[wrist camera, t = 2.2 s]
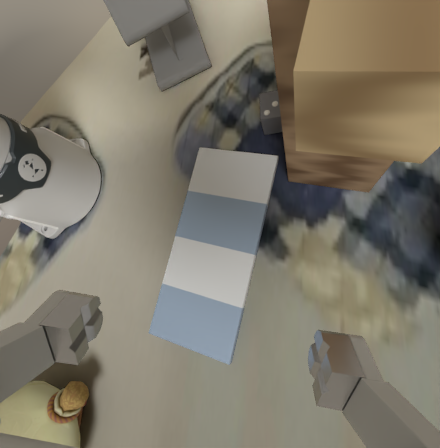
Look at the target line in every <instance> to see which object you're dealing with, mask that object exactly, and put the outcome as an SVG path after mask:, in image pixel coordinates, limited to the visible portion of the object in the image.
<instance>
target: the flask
mask: <svg viewBox="0 0 440 448" xmlns="http://www.w3.org/2000/svg"><path fill="white" fill-rule="evenodd" d="M88 397H89V391H88V387H87V386H86V385H85V384H84V383H83V382H80V381H71V382H69V383H68V385H67V386H66V387H65V388H63V389H61V390H60V389H58V388H56V387H54V386H52V385H50V384H48V383H46V382H44V381H30V382H28V383H27V384H26V385H24V386H23V387H22V388H20V389H19V390H17V391H16V392H15V393H13V394H12V395H11V396H9V397H8V398H7V399H5V400H4V401H2V402H1V403H0V418H1V424H0V433H5V434H10V435H15V436H20V437H26V438H31V439H36V440H41V441H47V442H52V443H57V444H62V445H68V446H73V447H78V448H80V439H81V437H80V432H79V429H80V425H81V420H82V412H83V406H85V405H86V403H87V399H88Z"/></svg>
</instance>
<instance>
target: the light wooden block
mask: <svg viewBox="0 0 440 448" xmlns="http://www.w3.org/2000/svg"><path fill="white" fill-rule="evenodd" d="M293 76H294V107H295V139H296V151H302V152H312V153H322V154H332V155H342V156H352V157H362V158H372V159H382V160H392V161H402V162H412V163H423V162H424V161H425V160H426V159H427V158H428V157H429V156H430V155H431V154H432V153H433V152H434V151H435V150H436V149H438V148H439V147H440V0H310V2H309V7H308V11H307V15H306V19H305V24H304V28H303V32H302V36H301V41H300V45H299V49H298V54H297V58H296V62H295V66H294V71H293Z"/></svg>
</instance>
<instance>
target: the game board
mask: <svg viewBox="0 0 440 448" xmlns="http://www.w3.org/2000/svg"><path fill="white" fill-rule="evenodd" d="M278 160H279V158H278V156H275V155H266V154H257V153H248V152H238V151H229V150H220V149H211V148H201V147H200V148H199V151H198V155H197V159H196V162H195V166H194V170H193V173H192V177H191V181H190V184H189V188H188V192H187V195H186V199H185V202H184V206H183V210H182V213H181V217H180V221H179V224H178V228H177V232H176V235H175V239H174V243H173V246H172V250H171V253H170V257H169V261H168V264H167V268H166V272H165V275H164V279H163V283H162V286H161V290H160V294H159V297H158V301H157V304H156V308H155V312H154V315H153V319H152V323H151V326H150V330H149V334H152V335H154V336H157V337H160V338H162V339H165V340H167V341H170V342H172V343H175V344H178V345H180V346H183V347H185V348H188V349H190V350H193V351H195V352H198V353H201V354H203V355H206V356H208V357H211V358H213V359H216V360H218V361H221V362H224V363H226V364H229V365H230V364H231V362H232V359H233V355H234V350H235V346H236V342H237V337H238V333H239V329H240V324H241V320H242V316H243V311H244V307H245V303H246V299H247V294H248V290H249V286H250V281H251V277H252V273H253V268H254V264H255V260H256V255H257V251H258V247H259V242H260V238H261V234H262V229H263V225H264V221H265V216H266V212H267V208H268V204H269V199H270V195H271V191H272V186H273V182H274V178H275V173H276V169H277V165H278Z"/></svg>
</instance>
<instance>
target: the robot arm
mask: <svg viewBox="0 0 440 448" xmlns="http://www.w3.org/2000/svg"><path fill="white" fill-rule="evenodd" d="M100 185H101V174H100V169H99V166H98V164H97V162H96V160H95V159H94V158H93V156H92V155H91V153H90V149H89V144H88V142H87V141H86V140H84V139H82V138H76V139H66V138H65V137H63V136H61V135H59V134H57V133H55V132H53V131H51V130H49V129H47V128H45V127H40V128H32V129H29V128H27V127H25V126H23V125H22V124H21V123H19V122H18V121H16V120H14V119H12V118H8V117H6V116H4V115H2V114H0V216H2V217H5V218H8V219H17V220H20V221H21V222H23V223H24V224H26V225H28V226H29V227H31V228H33V229H34V230H36V231H37V232H39V233H41V234H42V235H44V236H45V237H48V238H51V239H54V238H56V237H57V236H58V235H59V234H60V233H61V232H62V231H63V230H64V229H65V228H67V227H68V226H71V225H73V224H75V223H77V222H78V221H80V220H81V219H82V218H83V217H84V216H85V215H86V214H87V213H88V212H89V211H90V210H91V208H92V207H93V205H94V203H95V201H96V199H97V197H98V194H99V190H100ZM100 304H101V303H100V299H99V297H97V296H92V295H87V294H81V293H76V292H69V291H63V290H58V291H56V292H54V293H53V294H52V295H51V296H50V297H49V298H48V299H47V300H46V301H45V302H44V303H43V304H42V305H41V306H40V307H39V308H38V309H37V310H36V311H35V312H34V313H33V314H32V315H31V316H30V317H29V318H28V319H27V320H26V321H25V322H24V323H17V324H15V325H13V326H11V327H9V328H7V329H5V330H2V331H0V403H1V402H2V401H4V400H5V399H7V398H8V397H9V396H11V395H12V394H13V393H15V392H16V391H17V390H19V389H20V388H22V387H23V386H24V385H26V384H27V383H28V382H30V381H31V380H33V379H34V378H35V377H37V376H38V375H39V374H41V373H42V372H43V371H45V370H46V369H48V368H49V367H50V366H52V365H53V364H54V363H55V362H59V363H67V364H74V365H78V364H79V363H80V361H81V360H82V358H83V357H84V355H85V353H86V352H87V350H88V349H89V346H88V342H90V341H91V340H93V339H94V338H96V336H97V335H98V333H99V331H100V329H101V326H102V322H103V315H102V312H101V311H100V310H99V309H98V307H99V306H100ZM314 339H315V343H314V344H312V345H311V347H310V350H309V356H308V364H309V371H310V374H311V375H312V376H313V377H314V379H315V381H314V383H313V385H312V386H313V391H314V396H315V401H316V406H320V407H325V408H330V409H335V410H340V411H343V412H342V413H343V414H344V416H345V417H346V419H347V420H348V421H349V423H350V424H351V426H352V427H353V429H354V430H355V432H356V433H357V434H358V436H359V437H360V439H361V440H362V442H363V443H364V445H365V446H366V447H367V448H440V431H439V430H438V429H437V428H436V427H434V426H433V425H432V424H431V423H430V422H429V421H428V420H427V419H426V418H425V417H424V416H423V415H422V414H421V413H420V412H419V411H418V410H417V409H416V408H415V407H414V406H413V405H412V404H410V403H409V402H408V401H407V400H406V399H405V398H404V397H403V396H402V395H401V394H400V393H399V392H398V391H397V390H396V389H395V388H394V387H393V386H392V385H391V384H390V383H389V382H384V381H383V379H382V377H381V374H380V372H379V370H378V368H377V366H376V363H375V361H374V359H373V357H372V354H371V352H370V350H369V348H368V346H367V343H366V341H365V339H364V338H363V337H362V336H357V335H350V334H344V333H337V332H330V331H323V330H318V331H317V332H316V333H315V336H314ZM0 424H1V418H0ZM0 448H78V447H73V446H68V445H62V444H57V443H52V442H47V441H41V440H36V439H31V438H26V437H20V436H15V435H10V434H5V433H0Z"/></svg>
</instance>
